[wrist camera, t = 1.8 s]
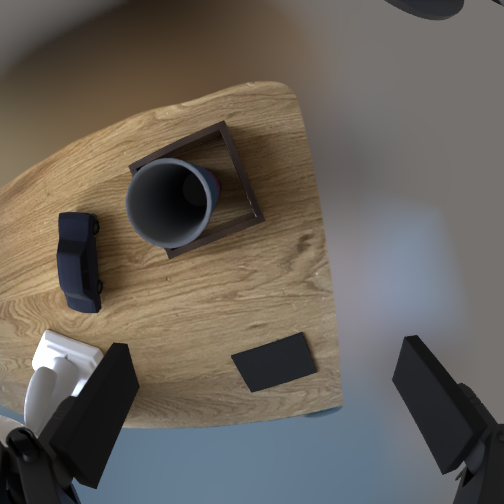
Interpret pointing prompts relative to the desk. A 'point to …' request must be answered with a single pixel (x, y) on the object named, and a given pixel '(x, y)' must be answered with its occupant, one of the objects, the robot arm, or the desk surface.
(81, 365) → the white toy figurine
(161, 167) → the cup
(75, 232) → the toy car
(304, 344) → the mat
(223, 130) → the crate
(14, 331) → the desk surface
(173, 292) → the desk surface
